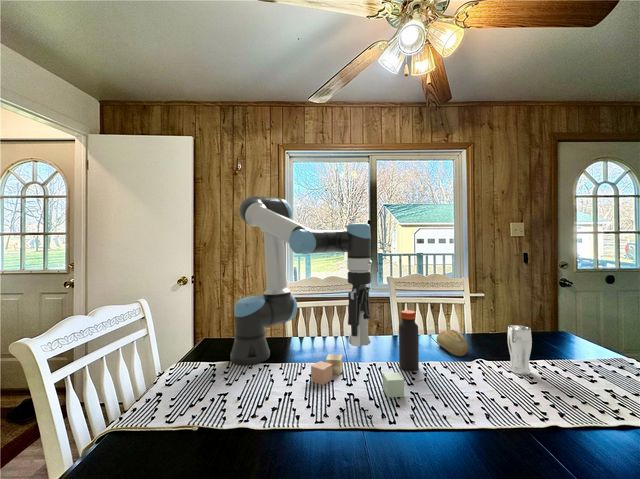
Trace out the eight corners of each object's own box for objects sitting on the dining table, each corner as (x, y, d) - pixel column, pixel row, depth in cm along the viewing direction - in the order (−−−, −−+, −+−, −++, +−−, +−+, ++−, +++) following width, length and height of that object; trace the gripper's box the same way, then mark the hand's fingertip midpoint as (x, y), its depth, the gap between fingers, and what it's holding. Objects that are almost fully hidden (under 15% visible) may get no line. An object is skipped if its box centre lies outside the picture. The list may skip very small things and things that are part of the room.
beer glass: (528, 368, 106) (527, 325, 106) (535, 376, 99) (534, 331, 99) (505, 365, 108) (505, 324, 108) (510, 374, 102) (510, 329, 101)
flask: (370, 347, 93) (370, 315, 93) (347, 345, 94) (346, 314, 94) (370, 339, 100) (370, 309, 100) (349, 338, 101) (349, 308, 101)
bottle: (401, 362, 112) (400, 308, 112) (420, 365, 109) (419, 310, 109) (397, 369, 106) (396, 312, 106) (417, 372, 103) (416, 314, 103)
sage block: (387, 397, 88) (387, 380, 88) (382, 389, 93) (382, 372, 93) (404, 396, 88) (404, 379, 88) (398, 388, 93) (398, 372, 93)
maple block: (326, 373, 104) (326, 359, 104) (328, 367, 109) (328, 353, 109) (340, 375, 103) (340, 360, 103) (342, 368, 108) (342, 354, 108)
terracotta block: (311, 381, 98) (311, 366, 98) (320, 375, 102) (320, 360, 102) (323, 385, 95) (323, 369, 95) (332, 379, 99) (332, 364, 99)
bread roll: (450, 343, 132) (450, 325, 132) (475, 356, 117) (474, 336, 117) (430, 345, 130) (430, 327, 130) (453, 359, 115) (453, 338, 115)
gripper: (360, 275, 87) (360, 354, 87) (378, 268, 104) (379, 334, 104) (336, 273, 90) (336, 350, 90) (358, 267, 108) (358, 331, 108)
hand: (359, 341), depth 97 cm, fingers closed on flask, 7 cm apart
